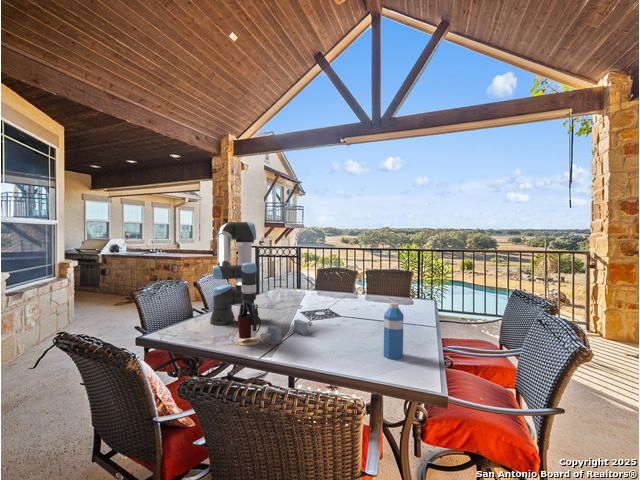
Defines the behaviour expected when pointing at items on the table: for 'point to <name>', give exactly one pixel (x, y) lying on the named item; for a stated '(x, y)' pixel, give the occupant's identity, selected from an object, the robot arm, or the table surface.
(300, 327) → the vise
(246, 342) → the coaster
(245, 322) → the mug
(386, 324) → the water bottle
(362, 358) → the table surface
